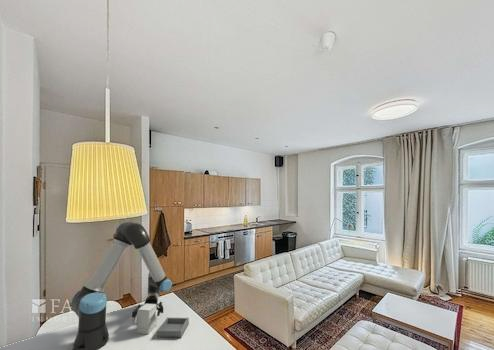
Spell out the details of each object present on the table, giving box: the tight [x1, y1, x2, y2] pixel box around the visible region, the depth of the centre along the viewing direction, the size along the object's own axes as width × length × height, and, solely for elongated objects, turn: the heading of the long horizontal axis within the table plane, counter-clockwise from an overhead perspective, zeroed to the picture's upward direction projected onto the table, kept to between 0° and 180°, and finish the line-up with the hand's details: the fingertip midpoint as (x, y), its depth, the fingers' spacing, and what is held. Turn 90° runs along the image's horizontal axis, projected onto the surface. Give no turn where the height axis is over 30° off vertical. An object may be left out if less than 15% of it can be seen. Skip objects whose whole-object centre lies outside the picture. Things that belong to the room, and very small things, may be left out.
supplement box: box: [136, 304, 158, 335], centre depth 126 cm, size 7×7×13 cm
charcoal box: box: [156, 317, 190, 339], centre depth 125 cm, size 13×13×4 cm
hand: (145, 319), depth 122 cm, fingers closed on supplement box, 9 cm apart
